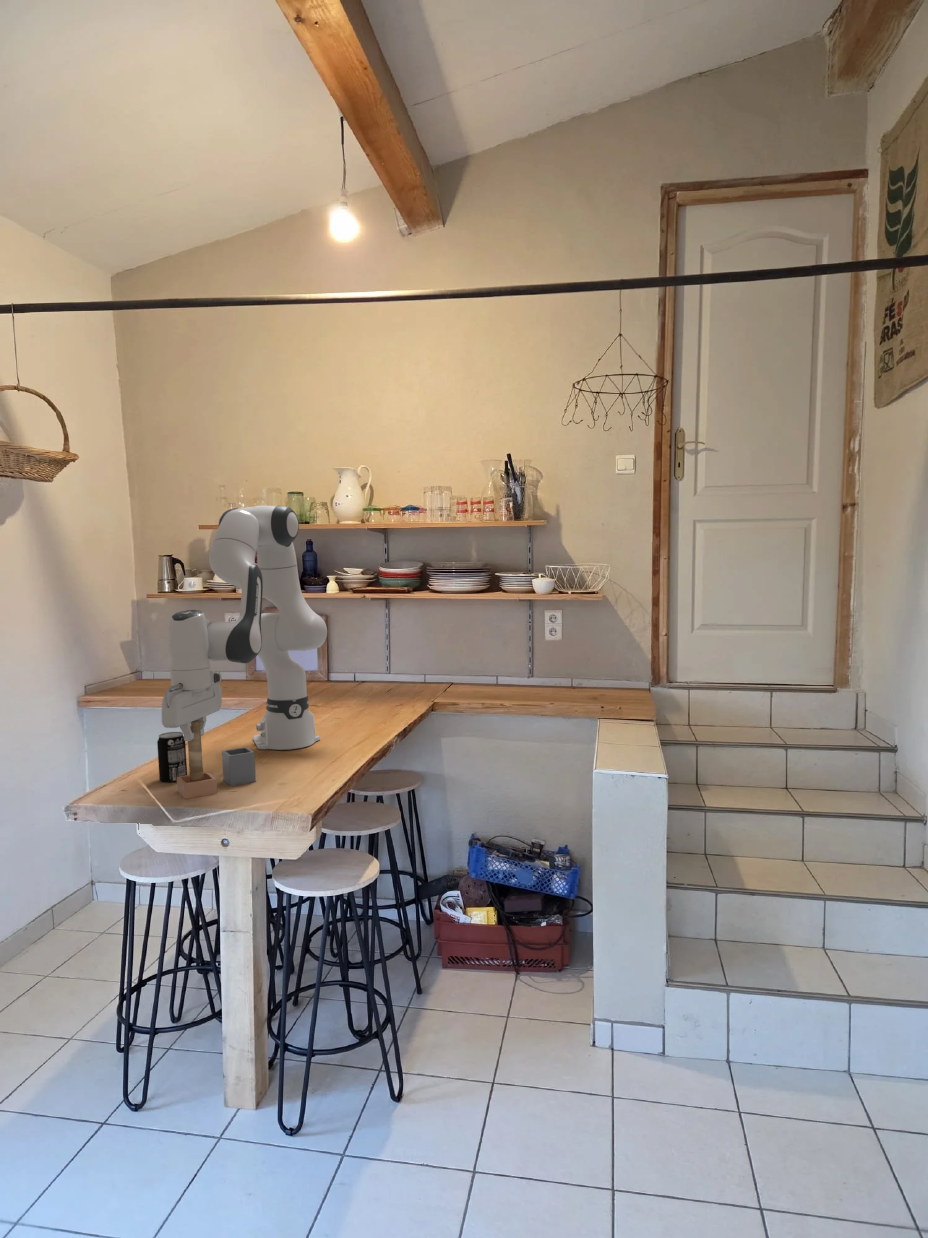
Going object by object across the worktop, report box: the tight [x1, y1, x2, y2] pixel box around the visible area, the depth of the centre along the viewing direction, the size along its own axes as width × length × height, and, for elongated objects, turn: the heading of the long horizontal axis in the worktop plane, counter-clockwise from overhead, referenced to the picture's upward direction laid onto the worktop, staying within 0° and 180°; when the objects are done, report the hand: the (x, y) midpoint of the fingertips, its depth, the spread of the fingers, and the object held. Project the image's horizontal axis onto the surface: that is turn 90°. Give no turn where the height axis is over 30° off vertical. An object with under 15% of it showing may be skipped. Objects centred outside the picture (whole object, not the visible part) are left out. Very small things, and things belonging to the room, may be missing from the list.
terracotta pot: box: [176, 771, 218, 800], centre depth 187 cm, size 7×7×4 cm
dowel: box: [187, 720, 204, 781], centre depth 186 cm, size 3×3×14 cm
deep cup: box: [221, 746, 257, 787], centre depth 195 cm, size 6×6×8 cm
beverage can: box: [156, 731, 188, 784], centre depth 198 cm, size 7×7×12 cm
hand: (194, 738), depth 186 cm, fingers closed on dowel, 3 cm apart
